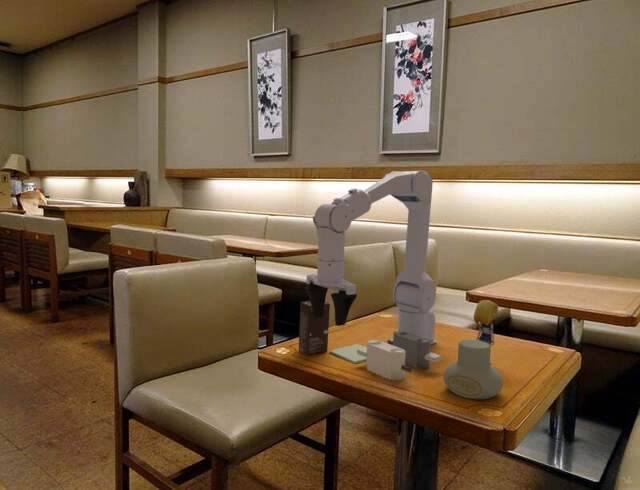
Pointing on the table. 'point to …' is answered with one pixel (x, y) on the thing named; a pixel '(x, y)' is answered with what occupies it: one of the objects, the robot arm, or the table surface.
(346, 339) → the table surface
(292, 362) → the table surface
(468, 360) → the air freshener
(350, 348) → the sage pad
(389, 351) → the white plug
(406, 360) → the charcoal plug
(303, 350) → the box
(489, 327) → the figurine
